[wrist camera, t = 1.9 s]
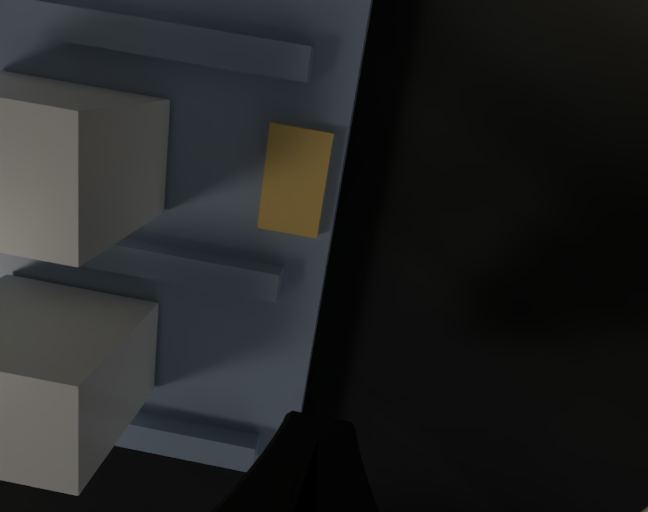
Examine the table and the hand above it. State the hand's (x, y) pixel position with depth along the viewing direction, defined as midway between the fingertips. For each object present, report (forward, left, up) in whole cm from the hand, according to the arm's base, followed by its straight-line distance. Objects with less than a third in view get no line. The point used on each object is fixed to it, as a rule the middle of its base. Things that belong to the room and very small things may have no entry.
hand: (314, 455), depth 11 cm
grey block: (0, +7, -3) cm, 7 cm away
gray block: (+5, +6, -3) cm, 9 cm away
